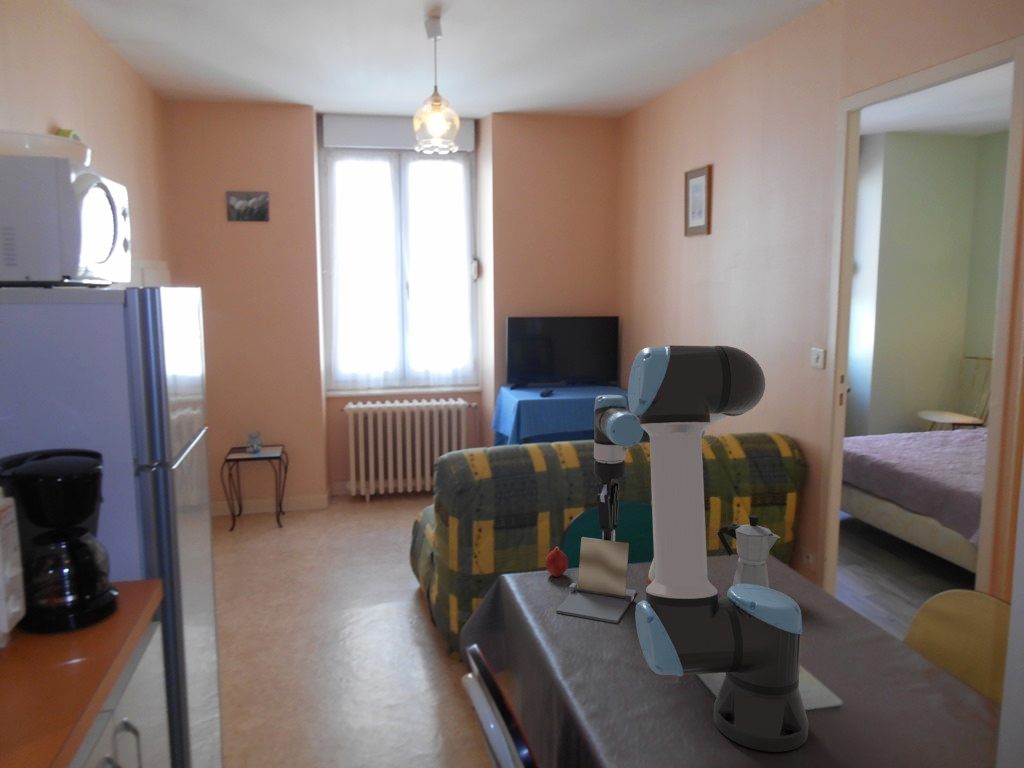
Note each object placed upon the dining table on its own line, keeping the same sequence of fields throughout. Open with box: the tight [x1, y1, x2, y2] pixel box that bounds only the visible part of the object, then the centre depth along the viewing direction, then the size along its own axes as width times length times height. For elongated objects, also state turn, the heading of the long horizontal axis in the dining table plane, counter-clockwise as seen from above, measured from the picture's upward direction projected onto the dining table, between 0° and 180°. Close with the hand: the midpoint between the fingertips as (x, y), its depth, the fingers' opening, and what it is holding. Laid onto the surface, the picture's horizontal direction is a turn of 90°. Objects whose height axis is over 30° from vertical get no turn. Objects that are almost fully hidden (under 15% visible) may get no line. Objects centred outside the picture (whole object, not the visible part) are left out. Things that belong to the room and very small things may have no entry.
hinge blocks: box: [568, 582, 635, 603], centre depth 169 cm, size 2×15×1 cm, turn 67°
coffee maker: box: [716, 514, 781, 588], centre depth 175 cm, size 15×9×18 cm, turn 58°
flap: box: [577, 536, 630, 599], centre depth 169 cm, size 13×12×1 cm
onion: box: [544, 546, 569, 578], centre depth 181 cm, size 6×6×8 cm
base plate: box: [555, 584, 637, 624], centre depth 166 cm, size 18×14×1 cm
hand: (608, 555), depth 173 cm, fingers closed
